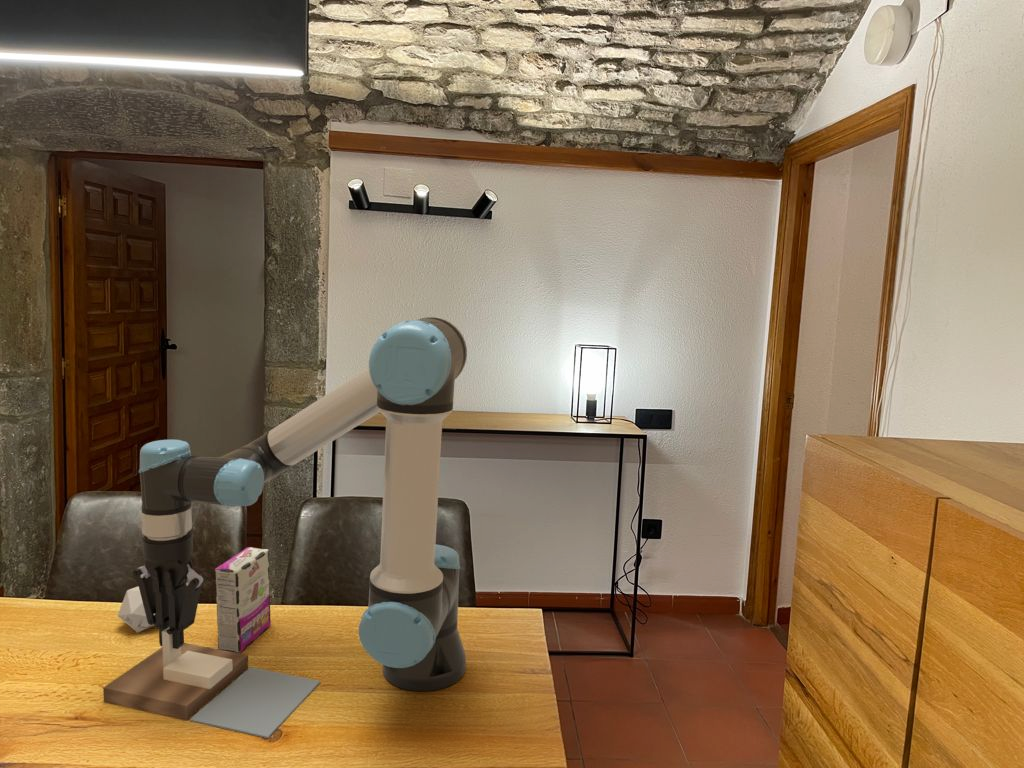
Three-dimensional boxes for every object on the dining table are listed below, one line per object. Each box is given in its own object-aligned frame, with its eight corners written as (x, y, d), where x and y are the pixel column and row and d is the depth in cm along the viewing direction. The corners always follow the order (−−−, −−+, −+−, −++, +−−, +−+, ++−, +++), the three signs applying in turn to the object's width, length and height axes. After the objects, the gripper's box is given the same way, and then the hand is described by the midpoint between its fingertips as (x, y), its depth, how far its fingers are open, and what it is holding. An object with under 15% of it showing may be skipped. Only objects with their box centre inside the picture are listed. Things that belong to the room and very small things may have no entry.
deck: (248, 668, 129) (247, 655, 128) (187, 720, 113) (186, 705, 113) (172, 652, 133) (172, 640, 132) (103, 701, 117) (103, 687, 117)
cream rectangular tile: (232, 670, 123) (232, 659, 123) (209, 689, 118) (209, 677, 117) (188, 661, 126) (187, 650, 125) (163, 679, 120) (163, 668, 120)
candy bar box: (249, 622, 145) (247, 545, 142) (271, 626, 144) (270, 548, 141) (215, 650, 134) (213, 567, 132) (239, 654, 133) (238, 571, 131)
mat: (320, 682, 125) (320, 680, 125) (267, 738, 110) (267, 736, 110) (250, 668, 129) (250, 666, 129) (189, 720, 113) (189, 719, 113)
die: (109, 637, 138) (125, 607, 134) (119, 598, 145) (134, 568, 141) (156, 643, 142) (172, 615, 138) (163, 605, 149) (179, 576, 145)
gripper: (216, 530, 121) (219, 659, 125) (151, 520, 124) (156, 646, 128) (185, 545, 114) (189, 682, 118) (117, 535, 117) (124, 668, 121)
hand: (172, 663), depth 123 cm, fingers closed
